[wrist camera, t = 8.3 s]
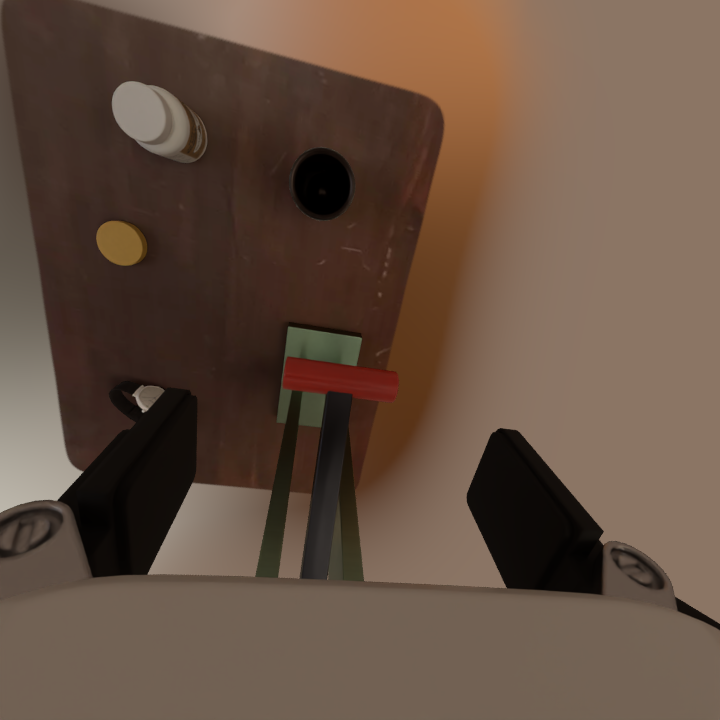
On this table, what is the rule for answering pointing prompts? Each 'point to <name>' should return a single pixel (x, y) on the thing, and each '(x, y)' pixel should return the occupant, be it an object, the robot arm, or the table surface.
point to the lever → (332, 442)
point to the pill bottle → (159, 121)
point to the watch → (143, 397)
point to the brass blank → (121, 243)
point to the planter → (322, 183)
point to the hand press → (294, 412)
